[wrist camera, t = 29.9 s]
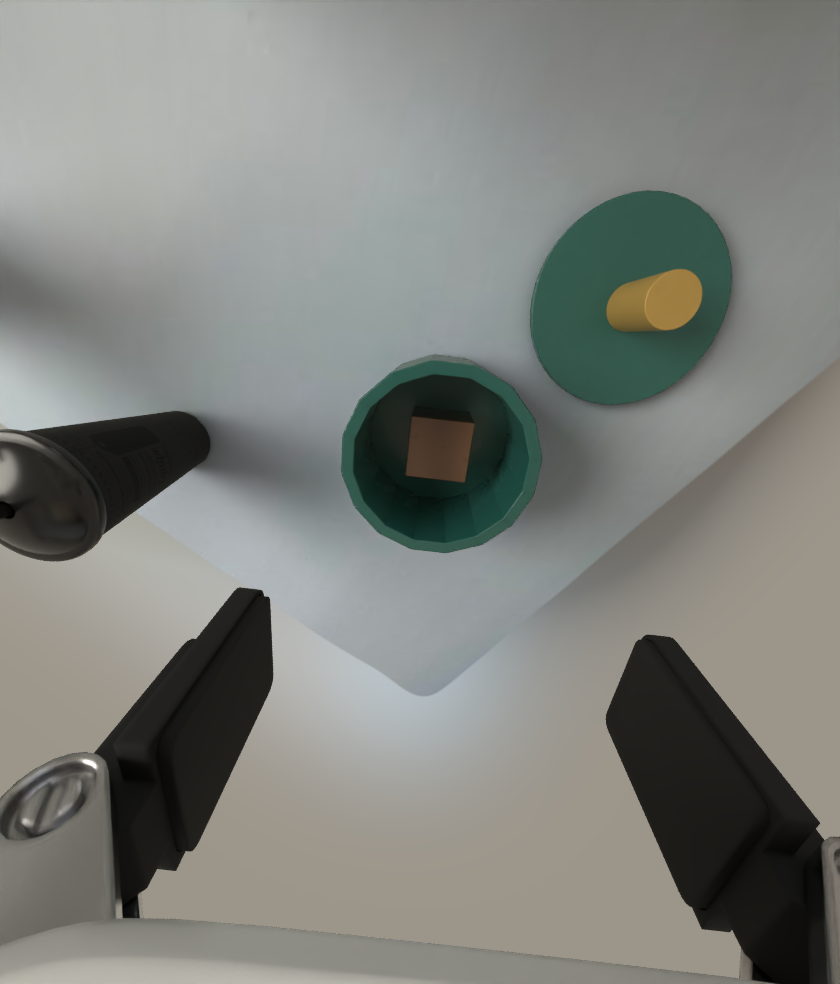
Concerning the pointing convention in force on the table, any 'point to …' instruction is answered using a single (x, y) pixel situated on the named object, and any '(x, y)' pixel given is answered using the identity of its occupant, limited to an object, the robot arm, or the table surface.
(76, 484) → the drinking cup
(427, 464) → the block
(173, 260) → the table surface
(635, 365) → the tin lid
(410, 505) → the tin
